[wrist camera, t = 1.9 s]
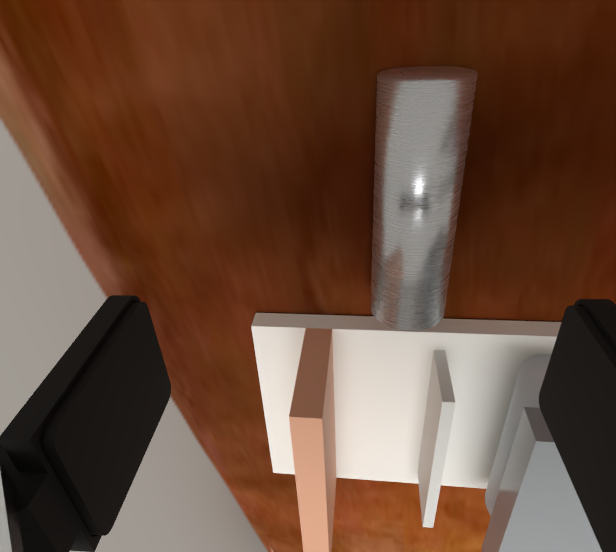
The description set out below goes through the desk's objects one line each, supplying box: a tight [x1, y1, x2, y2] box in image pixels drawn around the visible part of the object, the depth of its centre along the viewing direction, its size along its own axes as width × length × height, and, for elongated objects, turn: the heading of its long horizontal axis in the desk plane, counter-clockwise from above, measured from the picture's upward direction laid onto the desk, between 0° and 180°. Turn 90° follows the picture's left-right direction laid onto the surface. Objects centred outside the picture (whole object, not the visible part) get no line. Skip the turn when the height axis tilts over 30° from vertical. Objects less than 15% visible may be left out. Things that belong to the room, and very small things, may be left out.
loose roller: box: [371, 66, 478, 331], centre depth 16 cm, size 3×9×3 cm
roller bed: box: [251, 313, 562, 552], centre depth 20 cm, size 28×11×6 cm, turn 93°
